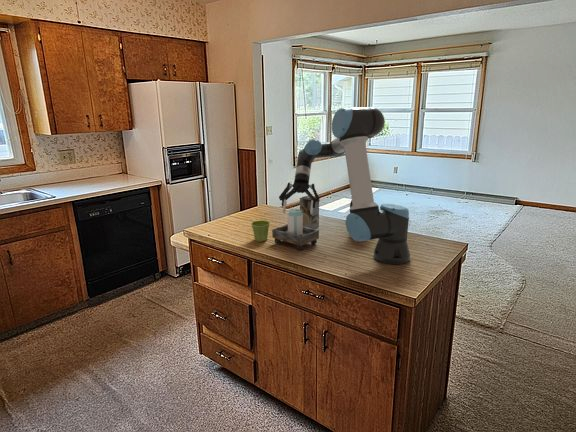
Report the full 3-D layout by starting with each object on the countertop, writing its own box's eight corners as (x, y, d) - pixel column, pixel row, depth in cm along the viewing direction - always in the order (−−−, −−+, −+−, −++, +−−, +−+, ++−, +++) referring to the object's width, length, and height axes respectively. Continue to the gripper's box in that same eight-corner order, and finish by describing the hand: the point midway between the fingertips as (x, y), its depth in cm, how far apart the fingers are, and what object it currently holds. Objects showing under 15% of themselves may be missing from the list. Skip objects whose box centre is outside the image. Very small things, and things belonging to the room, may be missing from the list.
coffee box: (319, 226, 205) (319, 198, 201) (312, 229, 201) (312, 200, 196) (306, 223, 211) (306, 195, 207) (299, 226, 207) (299, 197, 202)
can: (288, 232, 182) (287, 208, 179) (302, 232, 182) (302, 208, 179) (287, 237, 176) (287, 212, 172) (302, 237, 175) (302, 212, 172)
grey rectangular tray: (318, 244, 179) (318, 230, 177) (301, 252, 170) (301, 237, 168) (290, 236, 191) (290, 223, 189) (272, 243, 181) (272, 229, 179)
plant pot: (267, 243, 181) (267, 226, 179) (249, 242, 183) (248, 225, 181) (272, 237, 190) (272, 220, 188) (254, 236, 192) (253, 220, 189)
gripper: (327, 181, 194) (323, 217, 184) (279, 180, 199) (273, 215, 189) (326, 172, 187) (322, 209, 177) (277, 171, 192) (271, 207, 182)
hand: (297, 212), depth 183 cm, fingers open, 13 cm apart
